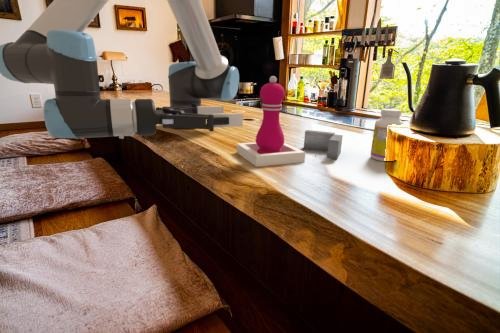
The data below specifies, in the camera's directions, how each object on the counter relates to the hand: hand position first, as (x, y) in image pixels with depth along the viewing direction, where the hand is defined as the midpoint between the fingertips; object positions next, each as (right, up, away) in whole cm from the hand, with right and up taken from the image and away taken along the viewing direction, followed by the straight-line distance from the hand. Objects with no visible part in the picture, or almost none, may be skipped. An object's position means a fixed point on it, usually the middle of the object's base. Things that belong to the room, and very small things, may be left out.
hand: (231, 115), depth 71 cm
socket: (+9, -9, +7) cm, 15 cm away
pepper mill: (+9, -10, +7) cm, 15 cm away
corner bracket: (+25, -8, +14) cm, 30 cm away
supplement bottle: (+39, -10, +9) cm, 42 cm away
